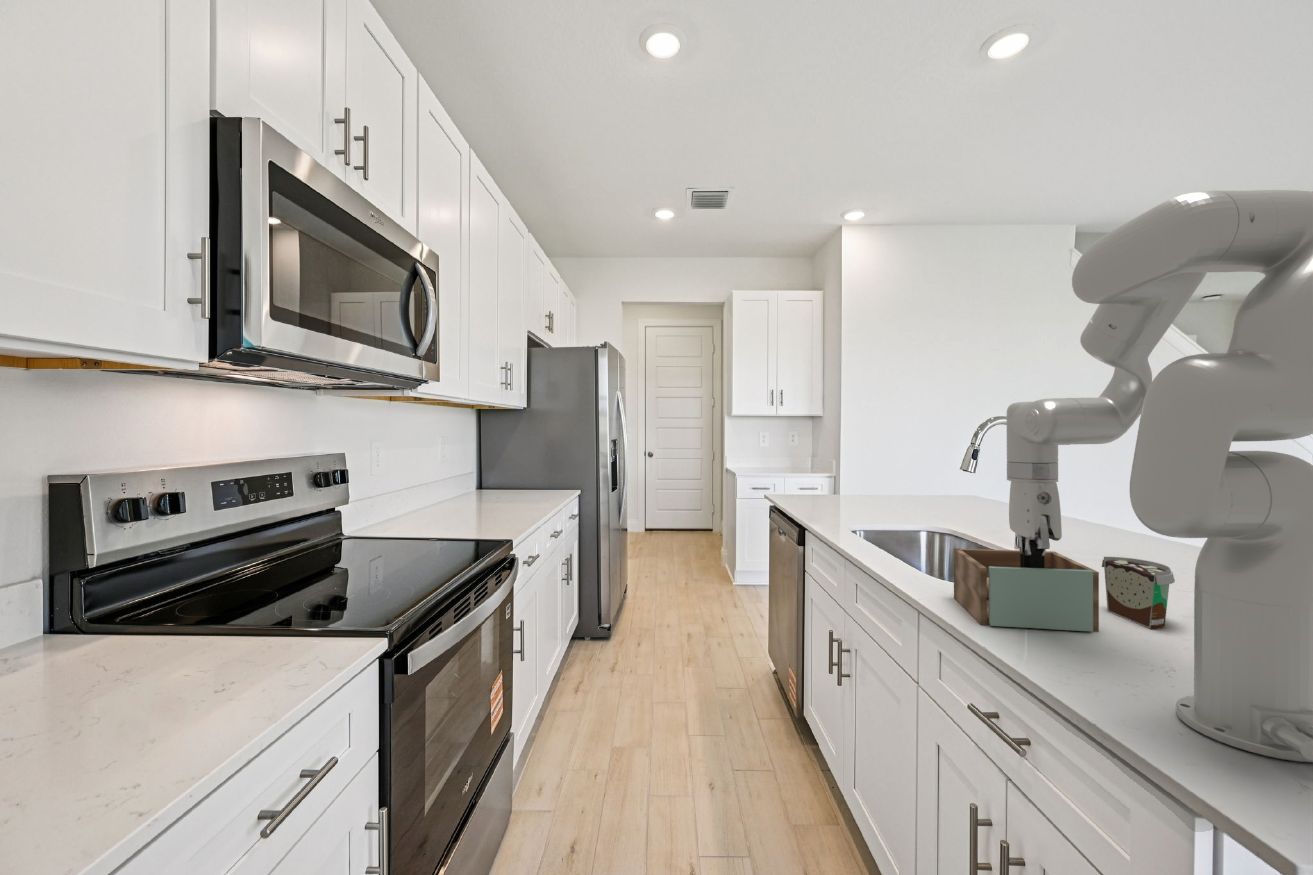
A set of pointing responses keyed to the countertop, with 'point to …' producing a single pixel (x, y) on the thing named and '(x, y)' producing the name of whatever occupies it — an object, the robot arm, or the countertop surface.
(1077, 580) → the flat green panel
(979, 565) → the crate
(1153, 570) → the food container
